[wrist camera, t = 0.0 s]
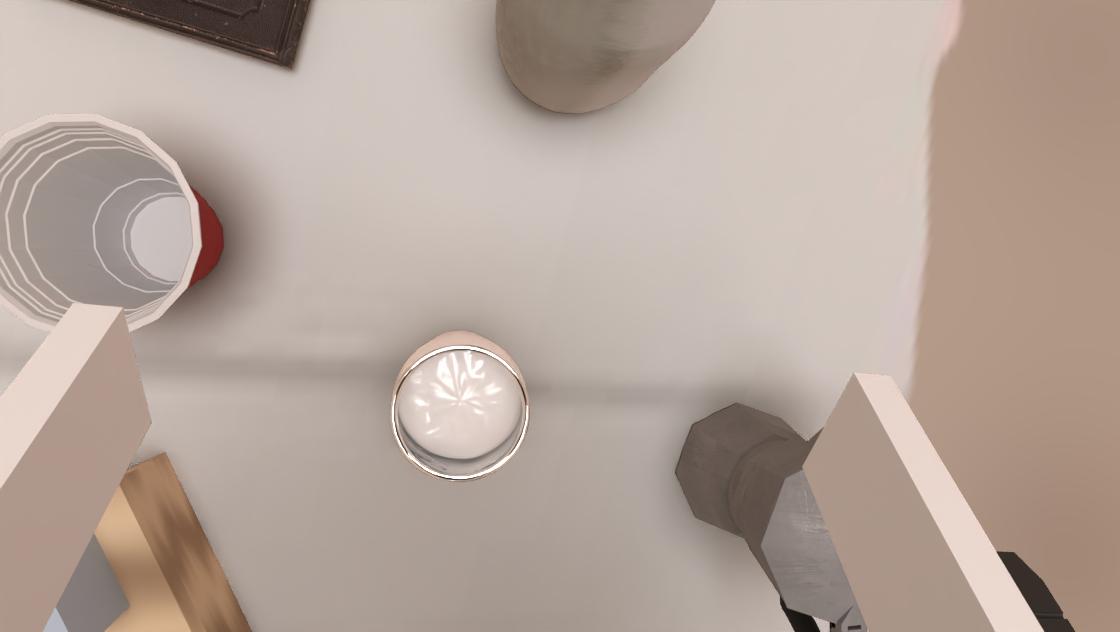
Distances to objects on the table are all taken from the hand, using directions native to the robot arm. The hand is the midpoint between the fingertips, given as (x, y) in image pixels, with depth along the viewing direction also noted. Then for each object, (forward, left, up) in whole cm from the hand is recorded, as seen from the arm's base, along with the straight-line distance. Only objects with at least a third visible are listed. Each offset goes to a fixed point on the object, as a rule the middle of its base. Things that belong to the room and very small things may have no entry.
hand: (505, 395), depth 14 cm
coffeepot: (-18, -13, -36) cm, 42 cm away
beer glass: (-3, +2, -36) cm, 36 cm away
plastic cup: (+12, +15, -36) cm, 41 cm away
